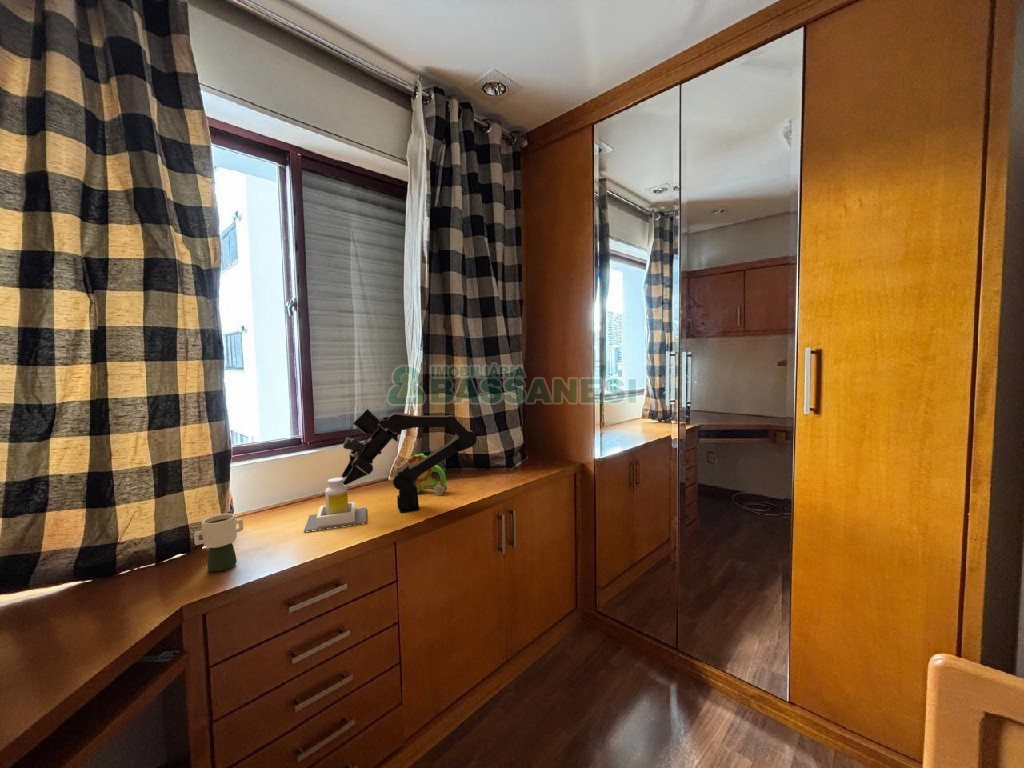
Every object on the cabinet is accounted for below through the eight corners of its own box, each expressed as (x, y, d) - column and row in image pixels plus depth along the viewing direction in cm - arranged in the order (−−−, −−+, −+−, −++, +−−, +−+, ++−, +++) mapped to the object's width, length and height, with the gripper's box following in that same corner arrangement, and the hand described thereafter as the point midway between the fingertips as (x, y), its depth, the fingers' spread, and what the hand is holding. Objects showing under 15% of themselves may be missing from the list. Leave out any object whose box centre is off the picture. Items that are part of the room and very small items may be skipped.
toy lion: (448, 491, 165) (446, 453, 164) (442, 496, 160) (441, 456, 159) (410, 489, 169) (409, 452, 168) (404, 494, 163) (402, 455, 162)
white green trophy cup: (239, 555, 115) (236, 509, 115) (251, 562, 111) (248, 514, 110) (191, 573, 107) (187, 522, 106) (203, 581, 102) (198, 528, 102)
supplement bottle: (352, 517, 139) (350, 478, 138) (332, 523, 134) (330, 483, 134) (342, 512, 144) (340, 475, 143) (323, 518, 139) (320, 480, 138)
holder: (366, 508, 149) (365, 498, 148) (366, 523, 135) (365, 512, 135) (309, 516, 143) (309, 506, 143) (304, 532, 130) (303, 521, 129)
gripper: (355, 424, 149) (322, 459, 145) (359, 432, 132) (323, 472, 128) (380, 444, 152) (348, 478, 149) (387, 454, 135) (352, 494, 132)
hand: (343, 480), depth 139 cm, fingers open, 9 cm apart
